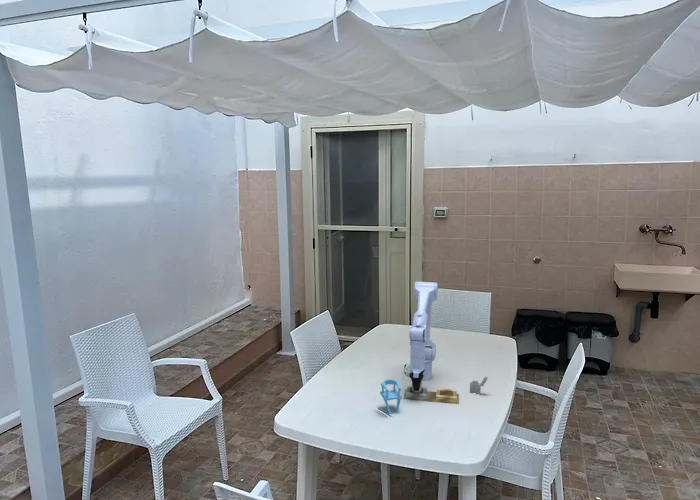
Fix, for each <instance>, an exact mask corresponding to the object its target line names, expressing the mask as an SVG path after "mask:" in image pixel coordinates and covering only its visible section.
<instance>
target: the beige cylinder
mask: <svg viewBox="0 0 700 500" xmlns="http://www.w3.org/2000/svg"><path fill="white" fill-rule="evenodd" d="M422 382H423V380H422V381H421V384H420V389H419V391H414V389H413V384H412V383H411V386H412V393H420V394H421V393H422V387H423V383H422Z"/></svg>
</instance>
